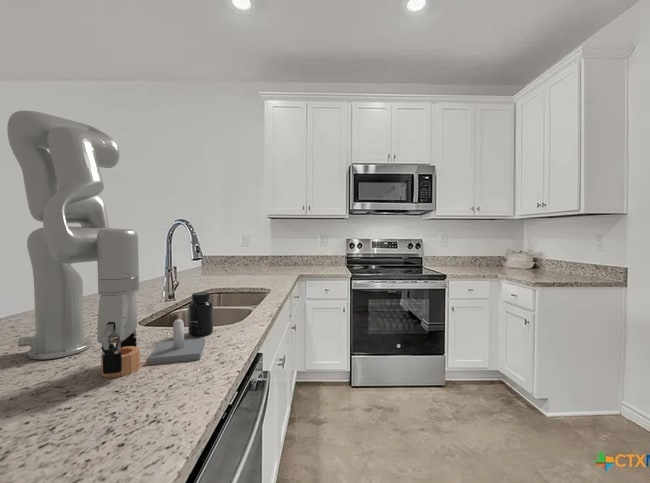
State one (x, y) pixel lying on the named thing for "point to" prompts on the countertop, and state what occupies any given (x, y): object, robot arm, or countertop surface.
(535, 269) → the countertop surface
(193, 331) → the supplement bottle
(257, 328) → the countertop surface
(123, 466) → the countertop surface
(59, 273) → the robot arm
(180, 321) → the post block
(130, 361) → the ring
